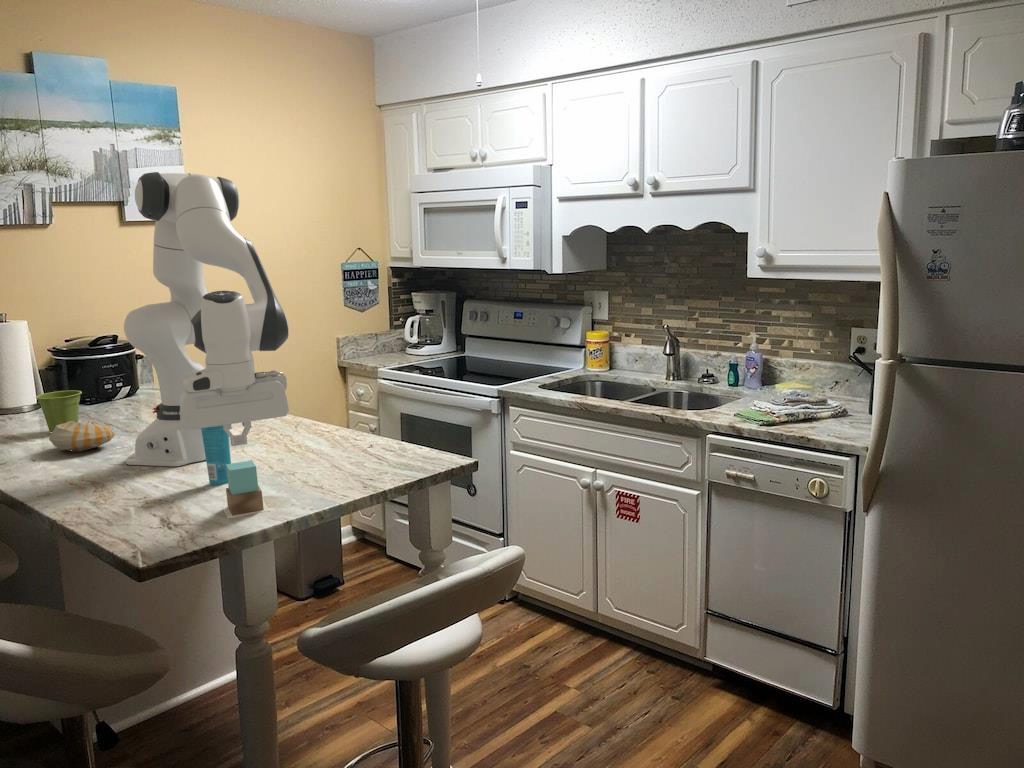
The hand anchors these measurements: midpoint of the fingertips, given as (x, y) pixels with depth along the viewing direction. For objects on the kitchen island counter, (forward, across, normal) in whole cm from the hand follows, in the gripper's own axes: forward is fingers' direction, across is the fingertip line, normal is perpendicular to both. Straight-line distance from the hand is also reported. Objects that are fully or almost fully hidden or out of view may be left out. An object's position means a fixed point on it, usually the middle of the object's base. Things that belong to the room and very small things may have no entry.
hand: (239, 444), depth 164 cm
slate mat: (+14, 0, 0) cm, 14 cm away
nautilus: (+14, +30, -79) cm, 86 cm away
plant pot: (+14, +35, -104) cm, 110 cm away
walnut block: (+13, 0, 0) cm, 13 cm away
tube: (+14, +2, -23) cm, 27 cm away
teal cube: (+9, 0, 0) cm, 9 cm away
